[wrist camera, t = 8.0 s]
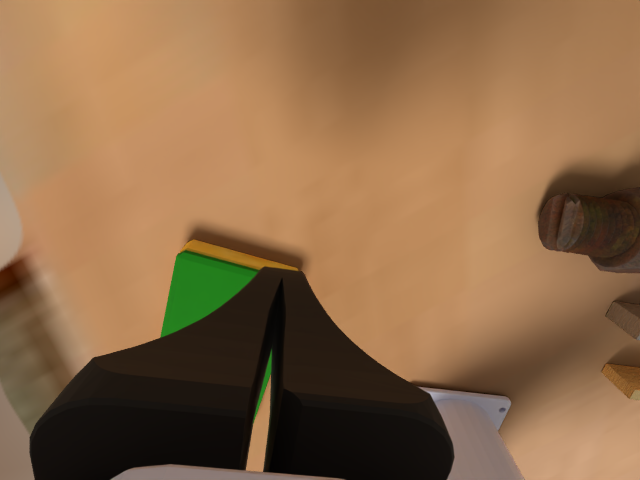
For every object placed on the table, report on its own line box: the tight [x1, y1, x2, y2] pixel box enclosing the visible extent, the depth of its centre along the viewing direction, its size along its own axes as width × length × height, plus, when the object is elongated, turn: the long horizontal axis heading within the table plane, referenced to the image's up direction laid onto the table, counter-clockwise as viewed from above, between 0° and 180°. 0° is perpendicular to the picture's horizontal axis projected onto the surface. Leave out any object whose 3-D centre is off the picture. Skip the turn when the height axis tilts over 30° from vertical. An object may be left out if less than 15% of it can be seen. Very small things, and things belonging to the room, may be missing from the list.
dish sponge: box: [160, 239, 299, 423], centre depth 24 cm, size 7×14×2 cm, turn 162°
